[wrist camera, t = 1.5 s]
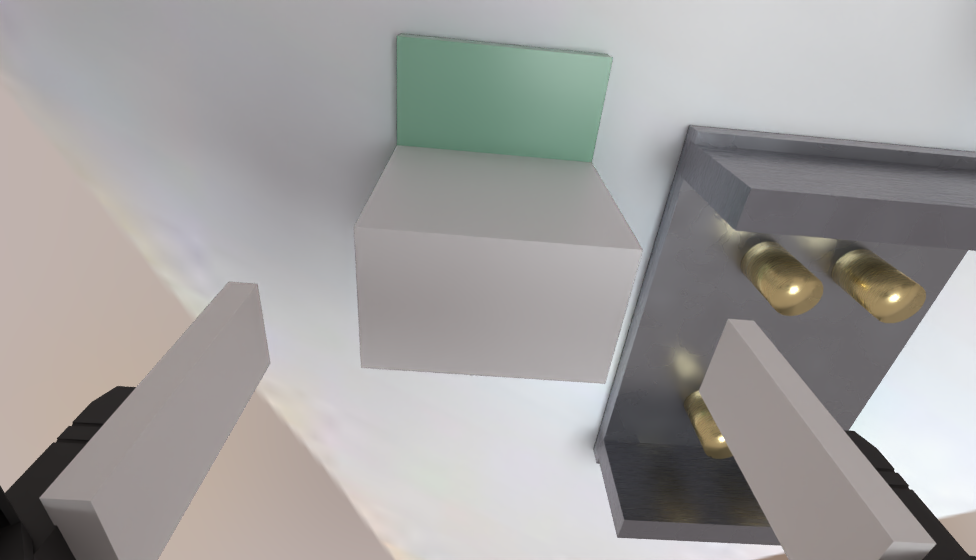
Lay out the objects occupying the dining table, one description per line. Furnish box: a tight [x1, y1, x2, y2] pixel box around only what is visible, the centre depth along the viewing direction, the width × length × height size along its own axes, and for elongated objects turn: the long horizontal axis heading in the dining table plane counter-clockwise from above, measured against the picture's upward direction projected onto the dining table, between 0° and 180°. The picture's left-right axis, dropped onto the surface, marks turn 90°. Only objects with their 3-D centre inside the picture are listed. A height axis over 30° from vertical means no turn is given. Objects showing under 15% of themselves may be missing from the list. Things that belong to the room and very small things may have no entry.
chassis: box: [594, 125, 976, 545], centre depth 24 cm, size 20×14×6 cm
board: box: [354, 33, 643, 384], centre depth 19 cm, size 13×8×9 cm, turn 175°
